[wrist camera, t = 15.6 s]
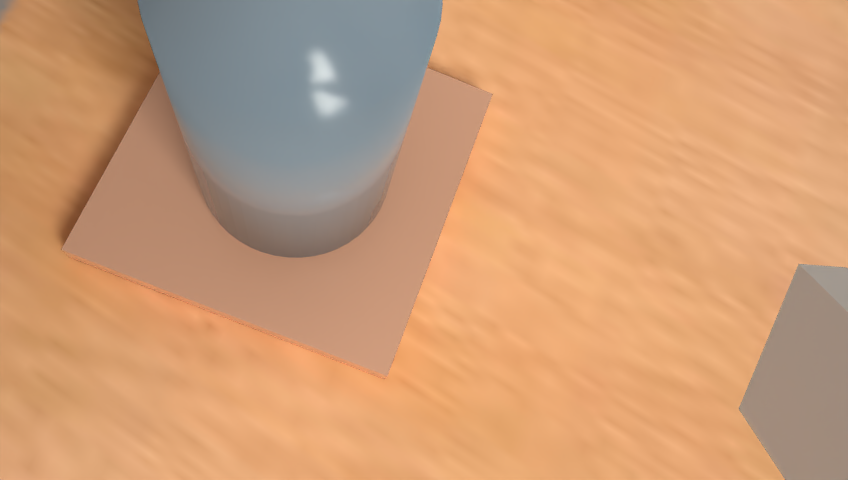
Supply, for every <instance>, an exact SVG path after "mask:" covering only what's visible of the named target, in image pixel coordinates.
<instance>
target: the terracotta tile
mask: <svg viewBox="0 0 848 480" xmlns="http://www.w3.org/2000/svg"><path fill="white" fill-rule="evenodd" d="M491 97H492V94H491V93H489V92H486V91H484V90H481V89H479V88H476V87H474V86H472V85H469V84H467V83H464V82H462V81H459V80H457V79H454V78H452V77H449V76H447V75H444V74H442V73H440V72H437V71H435V70H432V69H430V68H426V71H425V75H424V78H423V81H422V84H421V87H420V90H419V94H418V97H417V100H416V103H415V106H414V109H413V112H412V116H411V119H410V122H409V125H408V128H407V131H406V135H405V138H404V141H403V144H402V147H401V150H400V154H399V157H398V160H397V163H396V166H395V169H394V172H393V176H392V179H391V182H390V185H389V188H388V191H387V195H386V198H385V200H384V202H383V205H382V207H381V209H380V211H379V212H378V214H377V216H376V217H375V219H374V220H373V221H372V223H371V224H370V225H369V226H368V227H367V228H366V229H365V230H364V231H363V232H362V233H361V234H360V235H359V236H358V237H356V238H355V239H353V240H352V241H351V242H349V243H348V244H346V245H344V246H342V247H340V248H338V249H336V250H333V251H331V252H328V253H325V254H321V255H317V256H311V257H302V258H288V257H281V256H274V255H270V254H267V253H263V252H260V251H258V250H255V249H253V248H250V247H249V246H247V245H245V244H243V243H242V242H240V241H238V240H237V239H236V238H234V237H233V236H232V235H230V234H229V233H228V232H227V231H226V230H225V229H224V228H223V227H222V226H221V225H220V224H219V223H218V221H217V220H216V219H215V217H214V216H213V215H212V213H211V211H210V210H209V208H208V206H207V204H206V202H205V199H204V197H203V194H202V191H201V189H200V186H199V183H198V180H197V177H196V174H195V171H194V168H193V165H192V163H191V160H190V157H189V154H188V151H187V148H186V145H185V142H184V140H183V137H182V134H181V131H180V128H179V125H178V122H177V119H176V117H175V114H174V111H173V108H172V105H171V102H170V99H169V96H168V93H167V91H166V88H165V85H164V82H163V79H162V76H161V73H160V72H159V74H158V76H157V78H156V80H155V81H154V83H153V85H152V87H151V89H150V90H149V92H148V94H147V96H146V98H145V99H144V101H143V103H142V105H141V107H140V108H139V110H138V112H137V114H136V116H135V117H134V119H133V121H132V123H131V125H130V127H129V128H128V130H127V132H126V134H125V136H124V137H123V139H122V141H121V143H120V145H119V146H118V148H117V150H116V152H115V154H114V155H113V157H112V159H111V161H110V163H109V164H108V166H107V168H106V170H105V172H104V173H103V175H102V177H101V179H100V181H99V182H98V184H97V186H96V188H95V190H94V191H93V193H92V195H91V197H90V199H89V200H88V202H87V204H86V206H85V208H84V209H83V211H82V213H81V215H80V217H79V218H78V220H77V222H76V224H75V226H74V227H73V229H72V231H71V233H70V235H69V236H68V238H67V240H66V242H65V244H64V245H63V247H62V249H61V250H62V251H63V252H64V253H65V254H66V255H67V256H68V257H70V258H73V259H75V260H78V261H80V262H83V263H86V264H88V265H91V266H93V267H96V268H99V269H101V270H104V271H106V272H109V273H111V274H114V275H117V276H119V277H122V278H124V279H127V280H130V281H132V282H135V283H137V284H140V285H142V286H145V287H148V288H150V289H153V290H155V291H158V292H160V293H163V294H166V295H168V296H171V297H173V298H176V299H179V300H181V301H184V302H186V303H189V304H191V305H194V306H197V307H199V308H202V309H204V310H207V311H210V312H212V313H215V314H217V315H220V316H222V317H225V318H228V319H230V320H233V321H235V322H238V323H241V324H243V325H246V326H248V327H251V328H253V329H256V330H259V331H261V332H264V333H266V334H269V335H271V336H274V337H277V338H279V339H282V340H284V341H287V342H290V343H292V344H295V345H297V346H300V347H302V348H305V349H308V350H310V351H313V352H315V353H318V354H321V355H323V356H326V357H328V358H331V359H333V360H336V361H339V362H341V363H344V364H346V365H349V366H351V367H354V368H357V369H359V370H362V371H364V372H367V373H370V374H372V375H375V376H377V377H380V378H382V379H385V378H386V377H387V376H388V373H389V370H390V368H391V365H392V362H393V360H394V357H395V354H396V352H397V349H398V346H399V344H400V341H401V338H402V336H403V333H404V330H405V328H406V325H407V322H408V319H409V317H410V314H411V311H412V309H413V306H414V303H415V301H416V298H417V295H418V293H419V290H420V287H421V285H422V282H423V279H424V277H425V274H426V271H427V269H428V266H429V263H430V261H431V258H432V255H433V252H434V250H435V247H436V244H437V242H438V239H439V236H440V234H441V231H442V228H443V226H444V223H445V220H446V218H447V215H448V212H449V210H450V207H451V204H452V202H453V199H454V196H455V194H456V191H457V188H458V186H459V183H460V180H461V177H462V175H463V172H464V169H465V167H466V164H467V161H468V159H469V156H470V153H471V151H472V148H473V145H474V143H475V140H476V137H477V135H478V132H479V129H480V127H481V124H482V121H483V119H484V116H485V113H486V110H487V108H488V105H489V102H490V100H491Z"/></svg>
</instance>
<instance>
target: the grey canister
mask: <svg viewBox="0 0 848 480" xmlns="http://www.w3.org/2000/svg"><path fill="white" fill-rule="evenodd" d="M138 5H139V10H140V14H141V18H142V21H143V24H144V27H145V30H146V33H147V36H148V39H149V42H150V45H151V47H152V50H153V53H154V56H155V59H156V62H157V65H158V68H159V70H160V73H161V76H162V79H163V82H164V85H165V88H166V91H167V93H168V96H169V99H170V102H171V105H172V108H173V111H174V114H175V117H176V119H177V122H178V125H179V128H180V131H181V134H182V137H183V140H184V142H185V145H186V148H187V151H188V154H189V157H190V160H191V163H192V165H193V168H194V171H195V174H196V177H197V180H198V183H199V186H200V189H201V191H202V194H203V197H204V199H205V202H206V204H207V206H208V208H209V210H210V211H211V213H212V215H213V216H214V217H215V219H216V220H217V221H218V223H219V224H220V225H221V226H222V227H223V228H224V229H225V230H226V231H227V232H228V233H229V234H230V235H232V236H233V237H234V238H236V239H237V240H238V241H240V242H242V243H243V244H245V245H247V246H249V247H250V248H253V249H255V250H258V251H260V252H263V253H267V254H270V255H274V256H281V257H288V258H302V257H311V256H317V255H321V254H325V253H328V252H331V251H333V250H336V249H338V248H340V247H342V246H344V245H346V244H348V243H349V242H351V241H352V240H353V239H355V238H356V237H358V236H359V235H360V234H361V233H362V232H363V231H364V230H365V229H366V228H367V227H368V226H369V225H370V224H371V223H372V221H373V220H374V219H375V217H376V216H377V214H378V212H379V211H380V209H381V207H382V205H383V202H384V200H385V198H386V195H387V191H388V188H389V185H390V182H391V179H392V176H393V172H394V169H395V166H396V163H397V160H398V157H399V154H400V150H401V147H402V144H403V141H404V138H405V135H406V131H407V128H408V125H409V122H410V119H411V116H412V112H413V109H414V106H415V103H416V100H417V97H418V94H419V90H420V87H421V84H422V81H423V78H424V75H425V71H426V68H427V65H428V62H429V59H430V56H431V52H432V49H433V46H434V43H435V40H436V37H437V33H438V29H439V25H440V21H441V13H442V0H138Z"/></svg>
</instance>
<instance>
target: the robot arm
mask: <svg viewBox="0 0 848 480" xmlns="http://www.w3.org/2000/svg"><path fill="white" fill-rule="evenodd" d="M739 410H740V412H741V413H742V415H743V416H744V418H745V419H746V421H747V422H748V424H749V425H750V427H751V428H752V430H753V431H754V433H755V434H756V436H757V438H758V439H759V441H760V442H761V444H762V445H763V447H764V448H765V450H766V451H767V453H768V454H769V456H770V457H771V459H772V460H773V462H774V463H775V465H776V466H777V468H778V469H779V471H780V472H781V474H782V475H783V477H784V478H785V480H848V268H845V267H832V266H819V265H806V264H799V265H798V267H797V269H796V272H795V274H794V277H793V279H792V282H791V284H790V286H789V289H788V291H787V294H786V296H785V298H784V301H783V303H782V306H781V308H780V310H779V313H778V315H777V318H776V320H775V323H774V325H773V327H772V330H771V332H770V335H769V337H768V339H767V342H766V344H765V347H764V349H763V351H762V354H761V356H760V359H759V361H758V364H757V366H756V368H755V371H754V373H753V376H752V378H751V380H750V383H749V385H748V388H747V390H746V392H745V395H744V397H743V400H742V402H741V405H740V407H739Z"/></svg>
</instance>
